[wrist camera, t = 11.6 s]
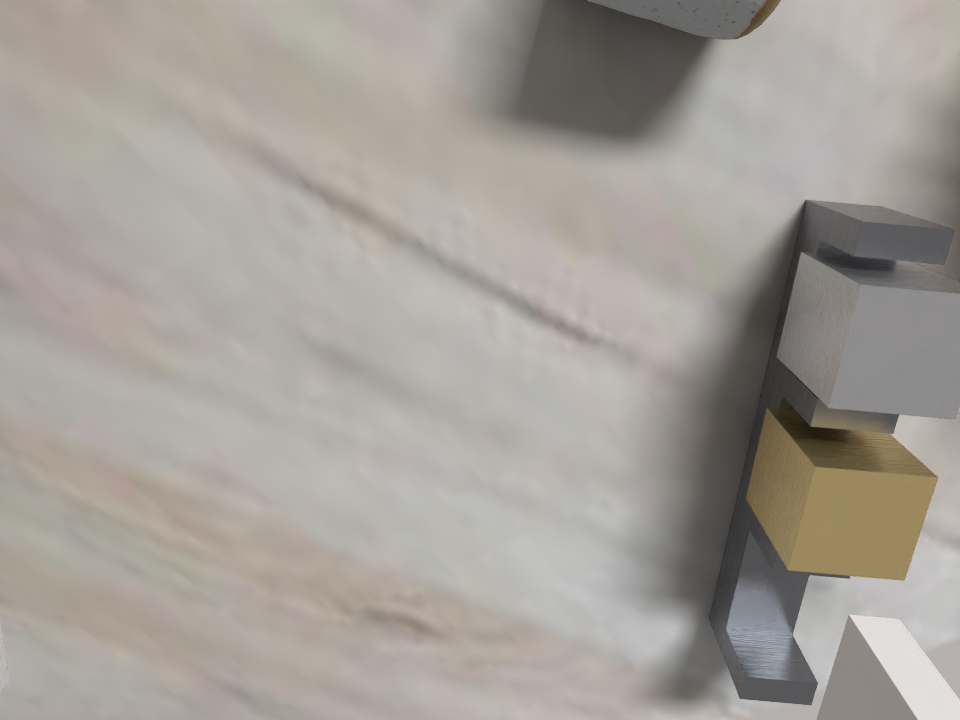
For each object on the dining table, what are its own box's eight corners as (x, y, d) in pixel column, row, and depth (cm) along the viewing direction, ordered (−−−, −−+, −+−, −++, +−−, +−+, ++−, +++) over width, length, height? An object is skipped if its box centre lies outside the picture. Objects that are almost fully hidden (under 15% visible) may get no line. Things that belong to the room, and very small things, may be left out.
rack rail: (709, 619, 43) (739, 698, 38) (805, 200, 35) (863, 221, 30) (771, 624, 43) (811, 704, 38) (882, 206, 35) (954, 229, 30)
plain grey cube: (776, 356, 35) (828, 407, 30) (801, 251, 34) (861, 285, 28) (882, 366, 35) (954, 419, 30) (912, 261, 34) (995, 296, 28)
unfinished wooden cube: (745, 498, 38) (788, 570, 32) (766, 407, 36) (815, 466, 31) (844, 507, 38) (904, 580, 32) (870, 416, 36) (938, 477, 31)
